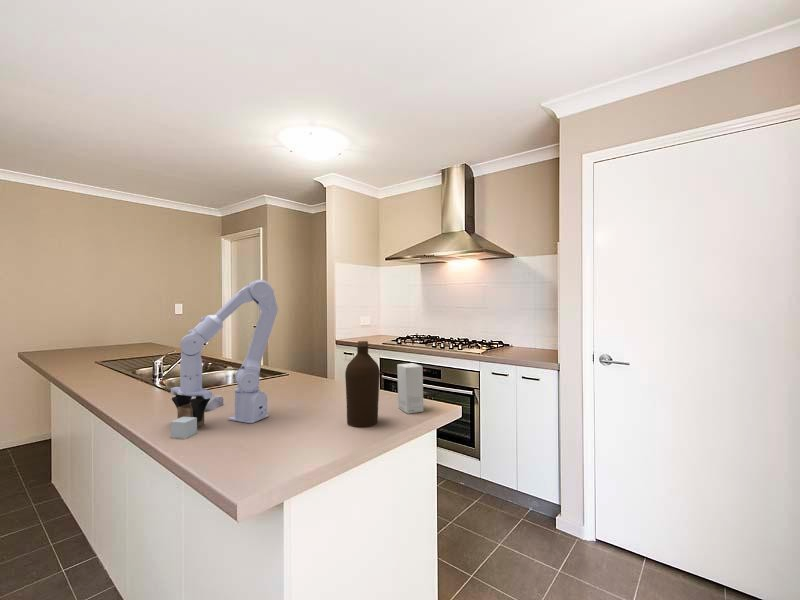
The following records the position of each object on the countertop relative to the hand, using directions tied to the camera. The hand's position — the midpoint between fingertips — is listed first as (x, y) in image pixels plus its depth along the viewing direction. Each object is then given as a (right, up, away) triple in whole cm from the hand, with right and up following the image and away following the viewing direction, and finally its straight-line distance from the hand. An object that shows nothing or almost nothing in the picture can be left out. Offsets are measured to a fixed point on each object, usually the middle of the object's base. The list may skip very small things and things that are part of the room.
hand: (191, 420), depth 115 cm
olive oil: (+51, -2, +4) cm, 51 cm away
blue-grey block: (+2, -2, -8) cm, 8 cm away
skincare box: (+66, -2, +17) cm, 68 cm away
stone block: (-7, -2, +19) cm, 20 cm away
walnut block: (0, -2, 0) cm, 2 cm away
